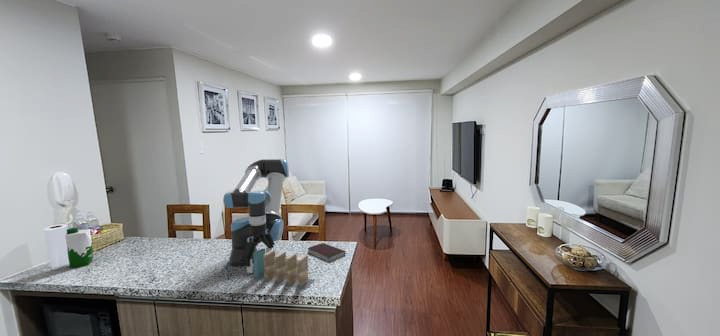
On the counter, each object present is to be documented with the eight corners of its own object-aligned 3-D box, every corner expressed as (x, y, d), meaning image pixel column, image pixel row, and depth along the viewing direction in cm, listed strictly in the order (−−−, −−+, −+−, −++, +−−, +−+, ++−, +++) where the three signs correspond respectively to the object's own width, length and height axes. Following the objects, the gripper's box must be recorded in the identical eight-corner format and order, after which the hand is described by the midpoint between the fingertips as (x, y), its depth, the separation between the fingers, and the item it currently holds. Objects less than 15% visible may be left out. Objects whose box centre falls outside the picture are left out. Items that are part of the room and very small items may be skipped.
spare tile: (254, 277, 133) (253, 253, 132) (262, 271, 139) (261, 248, 137) (257, 277, 132) (256, 253, 131) (266, 272, 138) (265, 248, 137)
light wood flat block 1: (264, 279, 131) (263, 254, 130) (272, 273, 137) (271, 249, 135) (268, 279, 130) (267, 255, 129) (276, 274, 136) (275, 250, 135)
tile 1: (297, 285, 125) (296, 260, 124) (304, 279, 130) (303, 255, 129) (301, 286, 124) (300, 260, 123) (308, 280, 130) (307, 255, 128)
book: (323, 247, 172) (323, 242, 172) (345, 255, 159) (345, 250, 159) (307, 253, 163) (307, 248, 163) (329, 262, 150) (329, 257, 150)
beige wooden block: (275, 281, 129) (274, 256, 128) (283, 275, 134) (282, 251, 133) (278, 282, 128) (277, 257, 127) (286, 276, 134) (285, 252, 133)
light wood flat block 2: (286, 283, 127) (285, 258, 126) (293, 277, 132) (292, 253, 131) (289, 284, 126) (288, 259, 125) (297, 278, 132) (296, 253, 130)
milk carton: (73, 263, 151) (69, 227, 149) (95, 259, 156) (91, 224, 154) (66, 269, 144) (62, 231, 142) (90, 265, 148) (86, 228, 146)
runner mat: (248, 278, 132) (248, 277, 132) (261, 270, 141) (261, 269, 141) (305, 290, 122) (305, 289, 122) (315, 280, 130) (315, 279, 130)
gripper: (245, 232, 120) (247, 279, 122) (280, 217, 143) (282, 257, 145) (231, 230, 123) (234, 276, 125) (268, 216, 146) (270, 255, 148)
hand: (259, 266), depth 135 cm, fingers open, 13 cm apart
